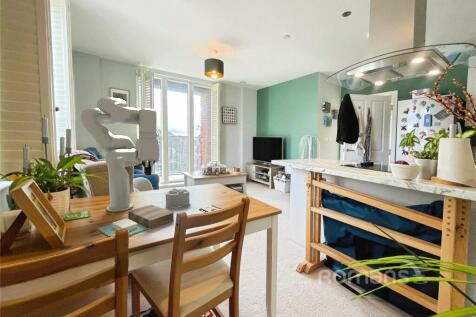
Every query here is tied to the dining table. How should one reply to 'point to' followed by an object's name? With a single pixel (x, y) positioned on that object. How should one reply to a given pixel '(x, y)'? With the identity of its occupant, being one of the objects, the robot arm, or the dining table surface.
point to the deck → (151, 216)
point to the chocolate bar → (209, 208)
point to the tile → (125, 224)
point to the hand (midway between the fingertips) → (147, 174)
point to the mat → (110, 229)
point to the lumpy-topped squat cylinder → (177, 197)
